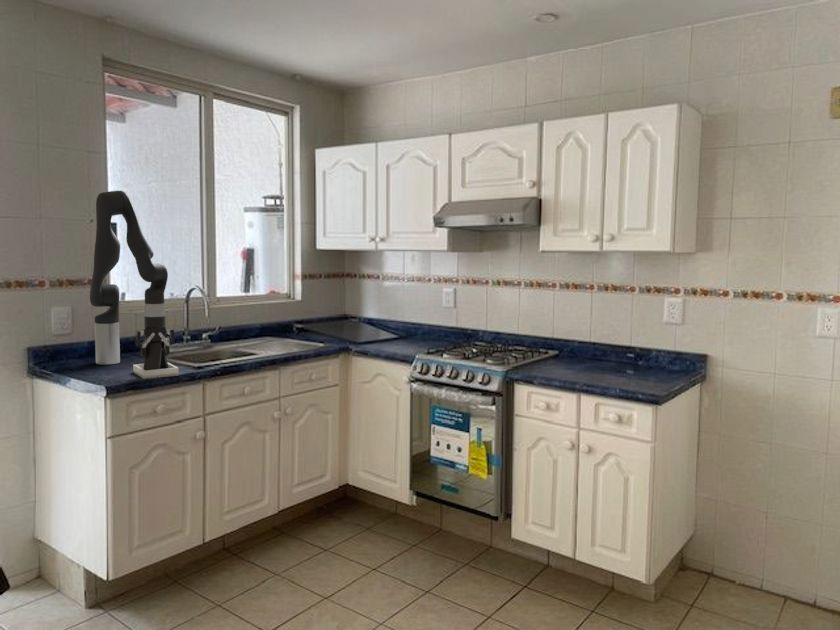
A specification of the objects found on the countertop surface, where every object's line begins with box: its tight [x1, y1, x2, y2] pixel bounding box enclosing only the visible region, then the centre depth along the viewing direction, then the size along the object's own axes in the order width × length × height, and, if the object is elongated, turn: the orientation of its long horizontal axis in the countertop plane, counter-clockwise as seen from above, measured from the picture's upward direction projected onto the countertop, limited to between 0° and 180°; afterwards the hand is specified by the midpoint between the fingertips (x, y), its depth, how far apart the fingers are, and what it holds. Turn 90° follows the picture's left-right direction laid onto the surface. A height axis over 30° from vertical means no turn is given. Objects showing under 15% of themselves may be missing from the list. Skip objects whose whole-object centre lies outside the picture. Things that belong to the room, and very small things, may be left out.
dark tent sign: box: [143, 340, 169, 370], centre depth 251 cm, size 9×6×12 cm, turn 175°
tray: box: [132, 361, 180, 380], centre depth 251 cm, size 15×13×3 cm
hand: (155, 356), depth 251 cm, fingers open, 8 cm apart
